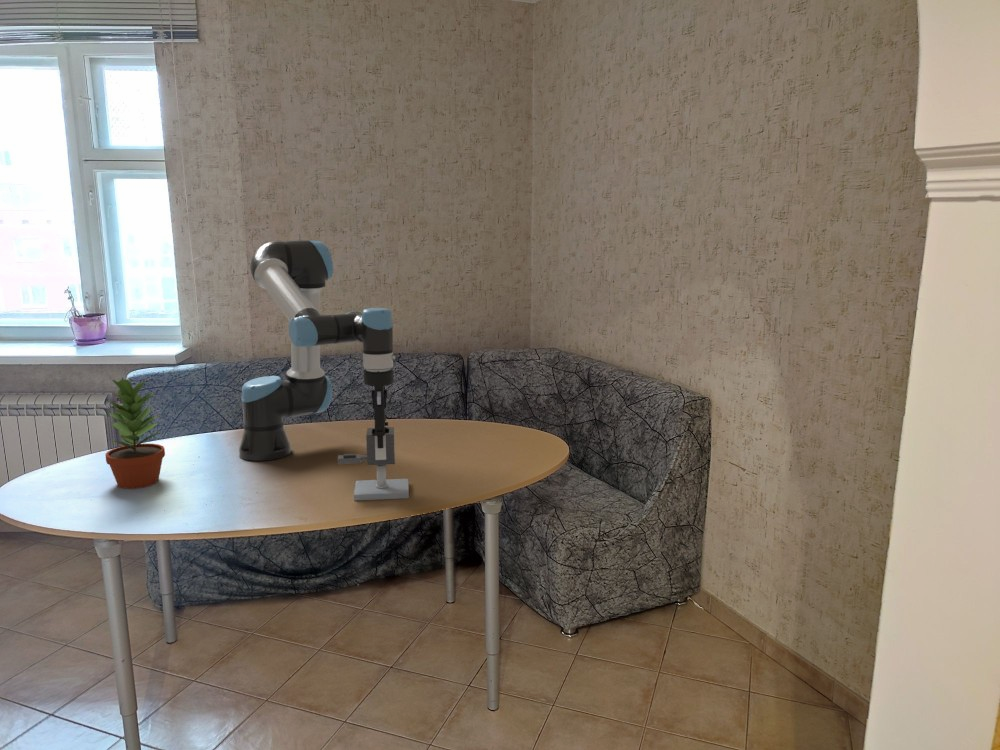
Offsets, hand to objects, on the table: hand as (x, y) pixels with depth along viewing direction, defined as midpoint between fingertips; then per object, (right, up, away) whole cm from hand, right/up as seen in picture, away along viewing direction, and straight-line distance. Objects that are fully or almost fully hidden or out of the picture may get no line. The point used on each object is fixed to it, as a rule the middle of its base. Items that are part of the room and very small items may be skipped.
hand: (381, 454), depth 198 cm
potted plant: (-68, -8, +9) cm, 69 cm away
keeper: (0, -10, +2) cm, 10 cm away
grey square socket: (-4, -2, 0) cm, 4 cm away
